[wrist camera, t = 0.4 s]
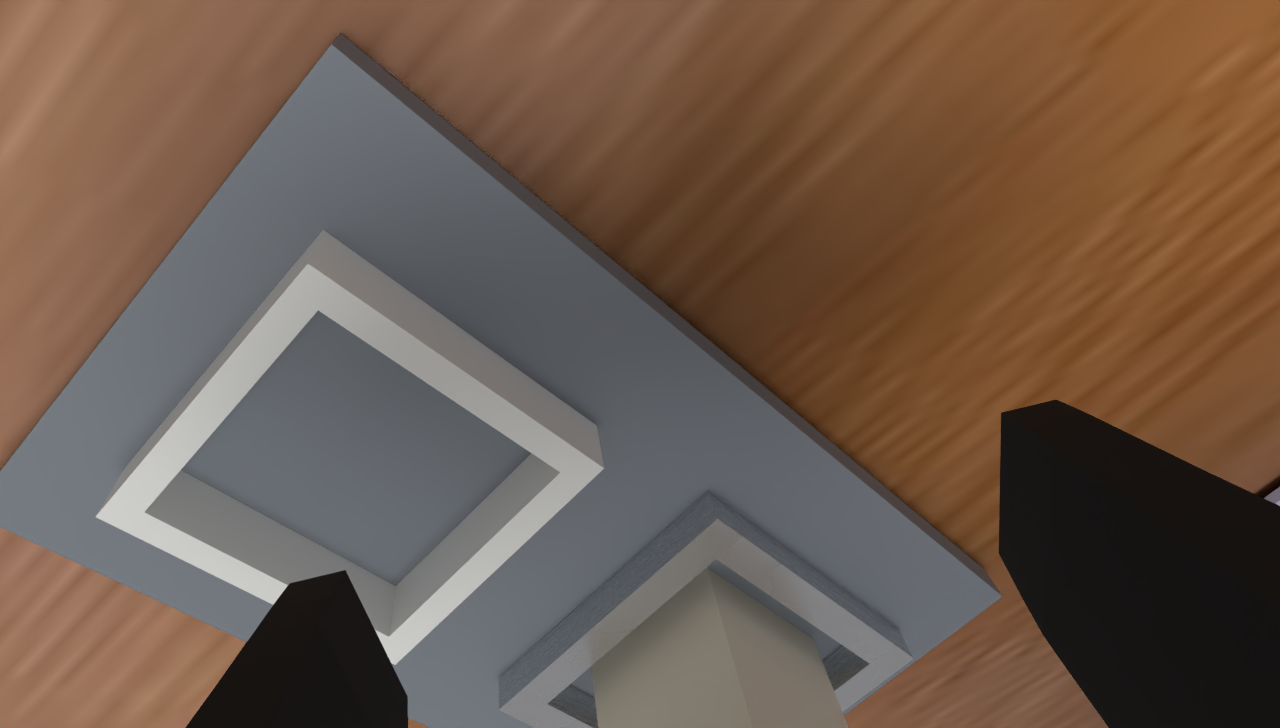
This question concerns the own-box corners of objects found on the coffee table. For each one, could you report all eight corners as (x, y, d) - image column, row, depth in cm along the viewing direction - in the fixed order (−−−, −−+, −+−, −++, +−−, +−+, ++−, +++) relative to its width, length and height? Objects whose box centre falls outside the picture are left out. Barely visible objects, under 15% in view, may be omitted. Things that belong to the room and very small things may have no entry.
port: (596, 425, 19) (604, 468, 18) (401, 613, 21) (395, 665, 19) (322, 229, 16) (307, 263, 15) (124, 468, 18) (95, 516, 16)
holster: (898, 628, 23) (913, 658, 22) (699, 780, 25) (707, 813, 24) (707, 490, 20) (717, 518, 19) (498, 676, 22) (498, 709, 21)
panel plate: (984, 569, 24) (1002, 596, 23) (668, 810, 27) (674, 842, 26) (341, 32, 15) (330, 44, 14) (-8, 481, 19) (-32, 511, 18)
